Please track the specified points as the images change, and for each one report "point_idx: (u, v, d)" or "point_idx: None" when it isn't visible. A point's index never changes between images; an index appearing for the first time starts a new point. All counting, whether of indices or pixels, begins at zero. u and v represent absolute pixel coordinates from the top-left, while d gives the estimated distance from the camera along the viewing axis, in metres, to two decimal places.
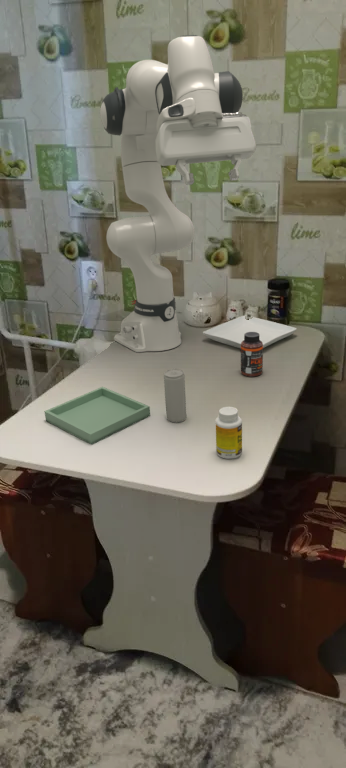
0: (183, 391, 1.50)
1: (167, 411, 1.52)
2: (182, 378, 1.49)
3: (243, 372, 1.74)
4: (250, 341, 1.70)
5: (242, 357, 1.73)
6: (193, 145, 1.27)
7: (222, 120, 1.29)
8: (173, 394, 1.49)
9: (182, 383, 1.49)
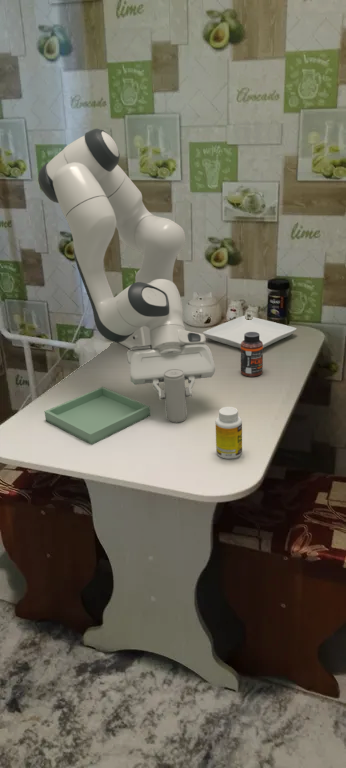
0: (183, 391, 1.50)
1: (167, 411, 1.52)
2: (182, 378, 1.48)
3: (243, 372, 1.74)
4: (250, 341, 1.70)
5: (242, 357, 1.73)
6: None
7: None
8: (173, 394, 1.49)
9: (182, 383, 1.49)
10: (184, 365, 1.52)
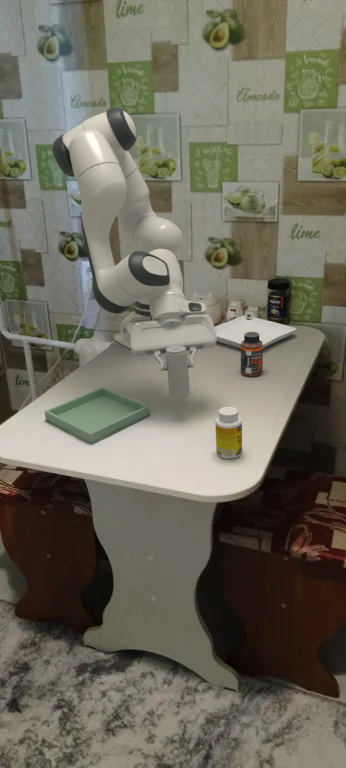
0: (185, 367, 1.48)
1: (170, 388, 1.50)
2: (184, 354, 1.46)
3: (243, 372, 1.74)
4: (250, 341, 1.70)
5: (242, 357, 1.73)
6: None
7: None
8: (175, 370, 1.47)
9: (184, 359, 1.47)
10: (185, 336, 1.49)
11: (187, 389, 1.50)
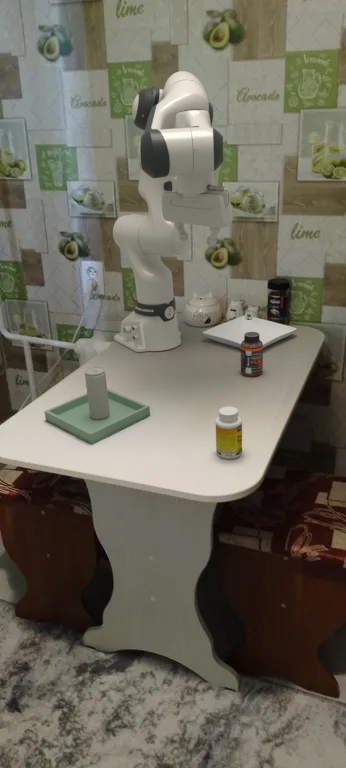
0: (104, 389, 1.52)
1: (89, 408, 1.55)
2: (102, 376, 1.51)
3: (243, 372, 1.74)
4: (250, 341, 1.70)
5: (242, 357, 1.73)
6: (181, 213, 1.56)
7: (202, 196, 1.50)
8: (93, 391, 1.51)
9: (102, 381, 1.51)
10: None
11: (106, 410, 1.54)
